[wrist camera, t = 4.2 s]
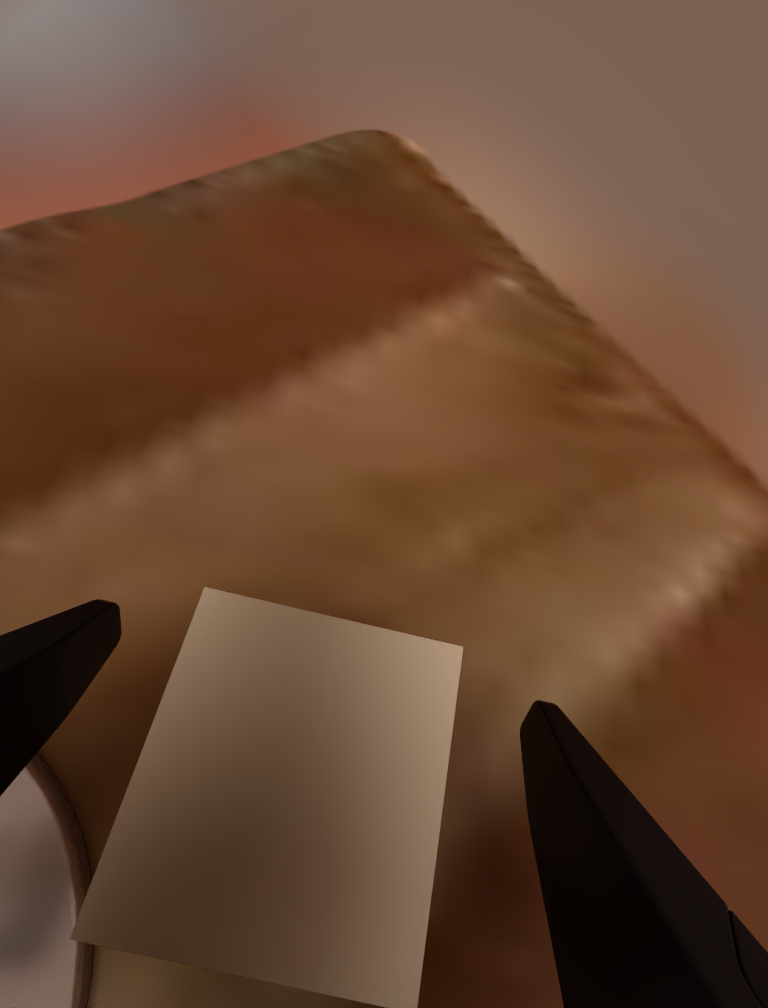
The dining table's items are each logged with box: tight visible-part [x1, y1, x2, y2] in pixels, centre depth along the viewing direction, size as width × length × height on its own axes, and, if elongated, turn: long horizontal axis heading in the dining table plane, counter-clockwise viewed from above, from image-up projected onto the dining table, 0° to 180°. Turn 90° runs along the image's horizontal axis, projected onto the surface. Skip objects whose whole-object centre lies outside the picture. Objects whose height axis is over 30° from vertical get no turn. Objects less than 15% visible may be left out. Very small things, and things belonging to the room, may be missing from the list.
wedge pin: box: [70, 587, 463, 1008], centre depth 10 cm, size 4×4×9 cm
